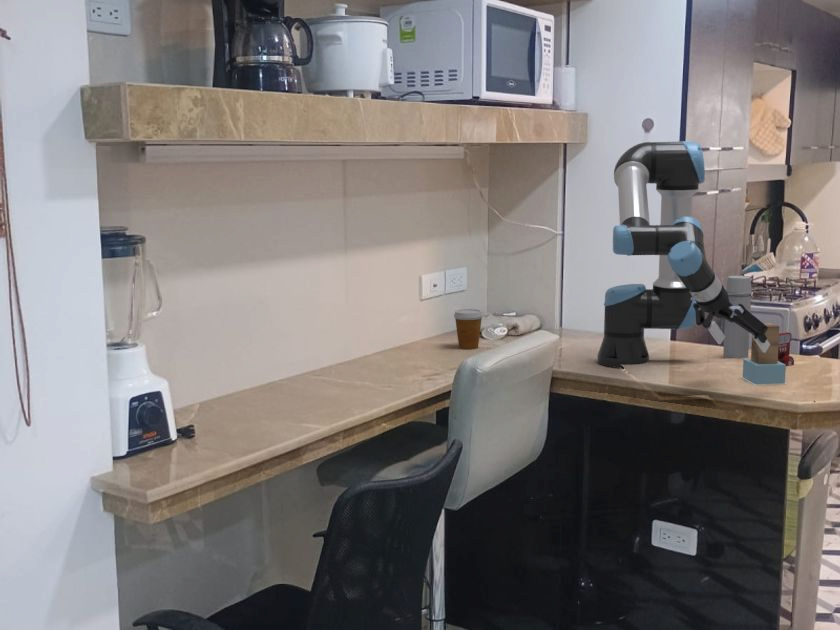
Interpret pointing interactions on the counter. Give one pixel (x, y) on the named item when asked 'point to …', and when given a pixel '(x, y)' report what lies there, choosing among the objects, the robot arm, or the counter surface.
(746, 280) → the water bottle
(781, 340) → the toy fire truck
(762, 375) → the teal block
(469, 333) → the disposable coffee cup
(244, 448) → the counter surface
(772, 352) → the walnut block
